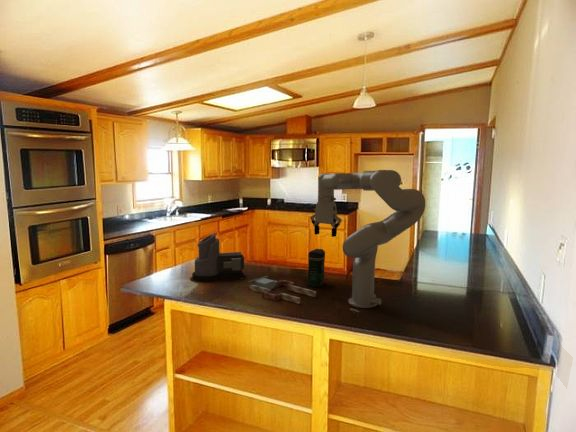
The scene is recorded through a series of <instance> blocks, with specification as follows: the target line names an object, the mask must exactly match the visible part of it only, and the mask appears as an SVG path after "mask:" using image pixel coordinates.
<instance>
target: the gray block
mask: <svg viewBox="0 0 576 432" xmlns="http://www.w3.org/2000/svg"><path fill="white" fill-rule="evenodd" d="M274 281H275V280H274V279H269V278H268V279H266V278H263V279H259V280H256V281H255V285H256V286H260V287H263V288H267V289H270V290H273V289H275V286H274Z"/></svg>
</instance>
